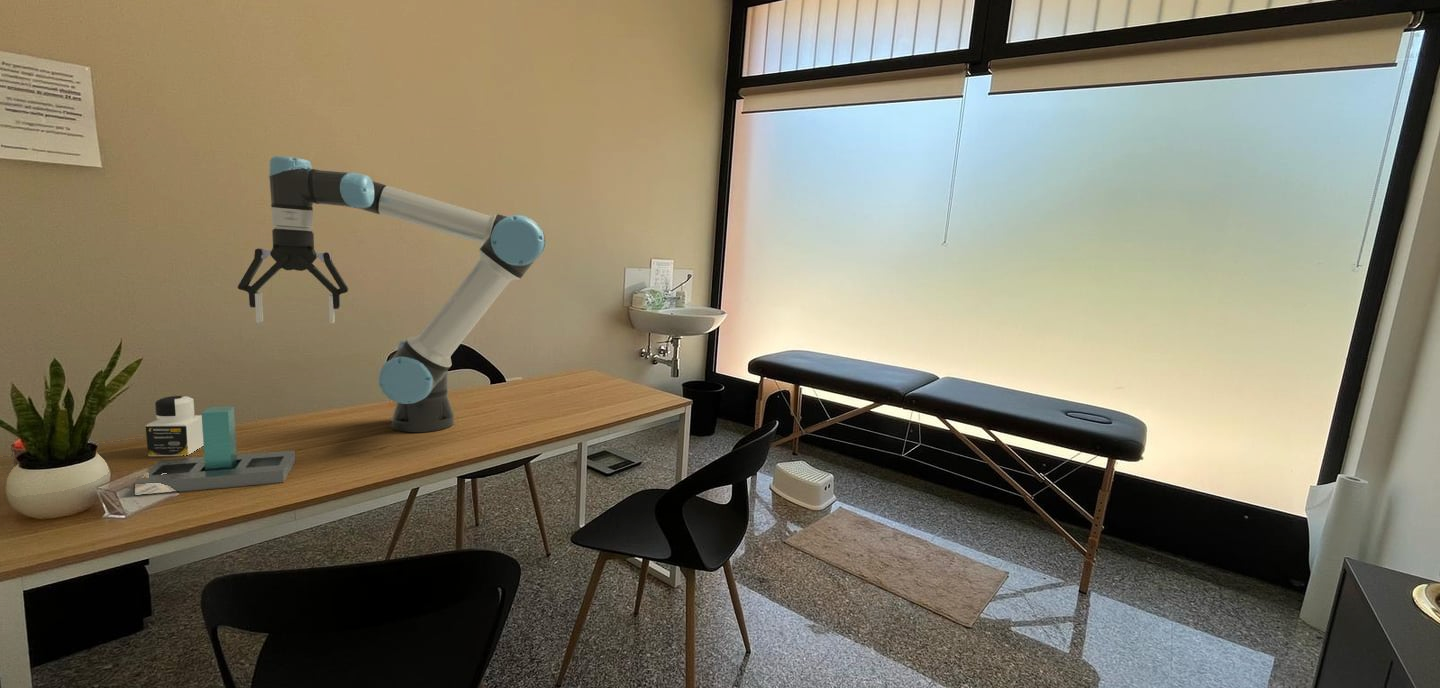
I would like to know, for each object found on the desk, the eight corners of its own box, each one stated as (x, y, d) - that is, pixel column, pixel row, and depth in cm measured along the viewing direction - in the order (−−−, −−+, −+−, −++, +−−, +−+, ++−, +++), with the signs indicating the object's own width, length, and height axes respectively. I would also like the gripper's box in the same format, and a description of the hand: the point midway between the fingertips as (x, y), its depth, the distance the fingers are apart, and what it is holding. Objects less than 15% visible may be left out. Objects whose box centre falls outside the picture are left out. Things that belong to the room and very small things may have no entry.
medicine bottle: (147, 457, 122) (142, 402, 121) (168, 445, 129) (164, 393, 127) (188, 456, 124) (184, 402, 123) (207, 445, 131) (203, 393, 129)
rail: (295, 461, 126) (294, 450, 126) (283, 482, 115) (283, 470, 115) (160, 471, 116) (159, 460, 115) (134, 495, 105) (133, 483, 105)
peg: (237, 472, 118) (233, 406, 116) (232, 479, 115) (228, 411, 113) (212, 474, 117) (208, 407, 114) (206, 482, 113) (201, 412, 111)
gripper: (216, 223, 121) (222, 324, 124) (356, 233, 132) (359, 325, 136) (226, 224, 127) (232, 319, 131) (359, 233, 139) (361, 320, 142)
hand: (296, 322), depth 133 cm, fingers open, 13 cm apart
